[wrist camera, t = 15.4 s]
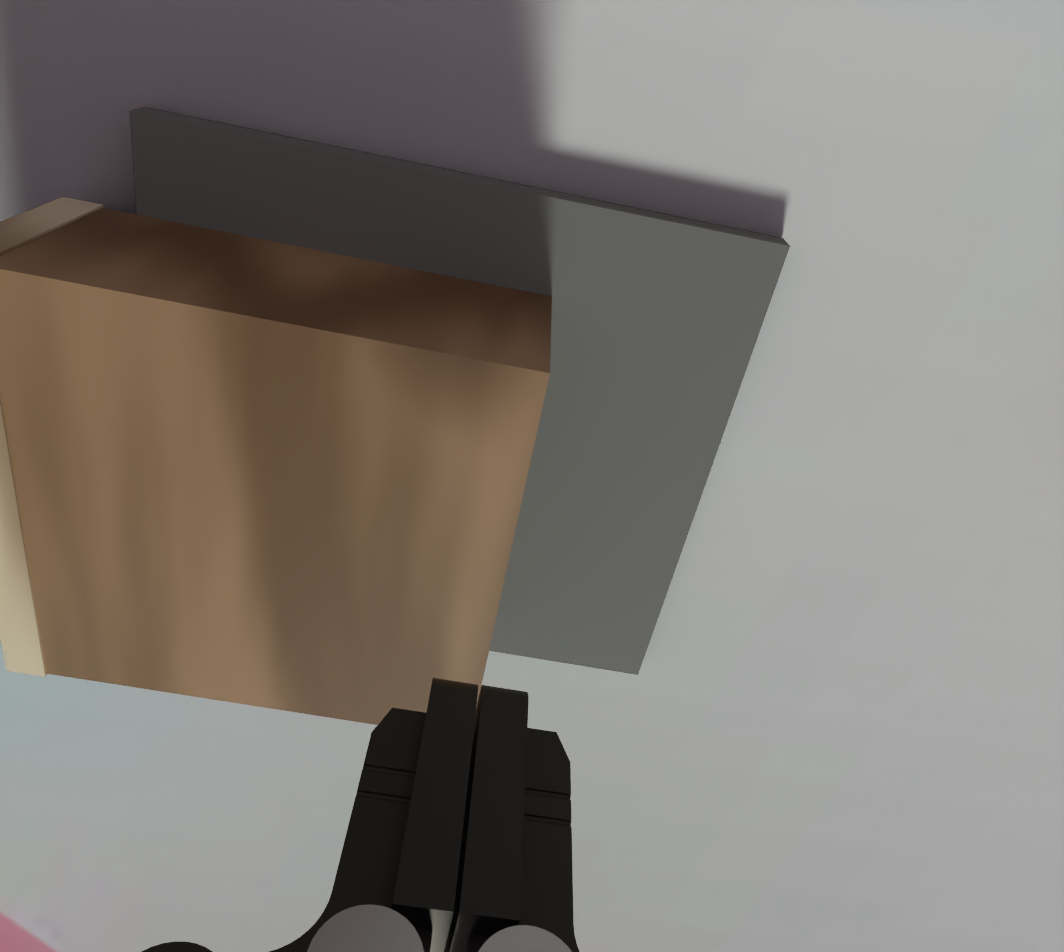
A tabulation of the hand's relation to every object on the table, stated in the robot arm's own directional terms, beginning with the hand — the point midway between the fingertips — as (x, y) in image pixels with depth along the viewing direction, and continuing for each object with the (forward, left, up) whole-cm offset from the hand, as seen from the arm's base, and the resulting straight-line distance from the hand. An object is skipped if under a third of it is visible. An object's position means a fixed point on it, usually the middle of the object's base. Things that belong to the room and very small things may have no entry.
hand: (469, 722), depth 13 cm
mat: (+2, 0, -8) cm, 8 cm away
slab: (0, 0, -6) cm, 6 cm away
